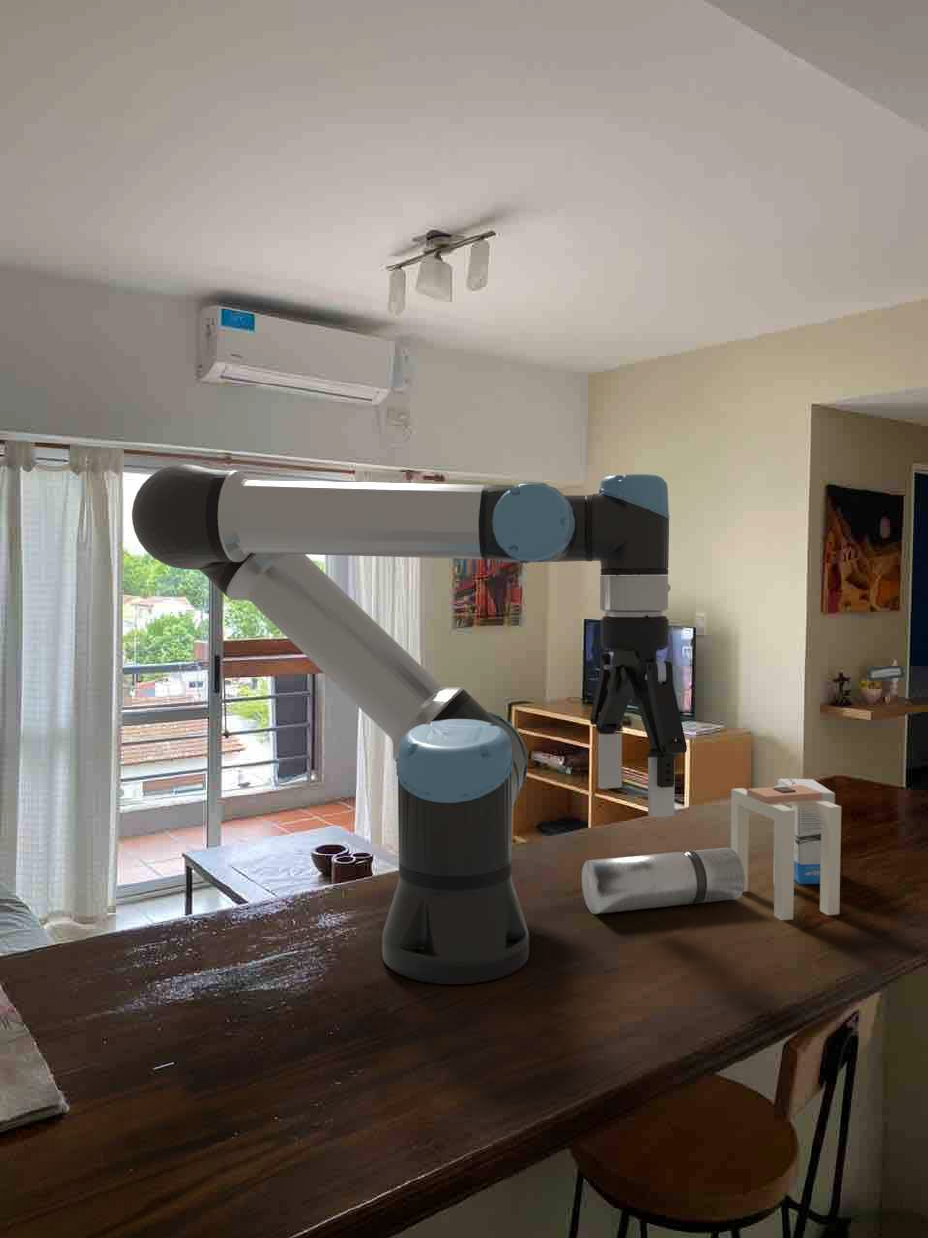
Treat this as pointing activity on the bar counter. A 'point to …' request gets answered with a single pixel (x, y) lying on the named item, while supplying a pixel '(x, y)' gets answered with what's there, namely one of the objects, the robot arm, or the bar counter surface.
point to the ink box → (807, 835)
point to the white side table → (790, 840)
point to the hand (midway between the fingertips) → (634, 801)
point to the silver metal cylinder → (662, 880)
